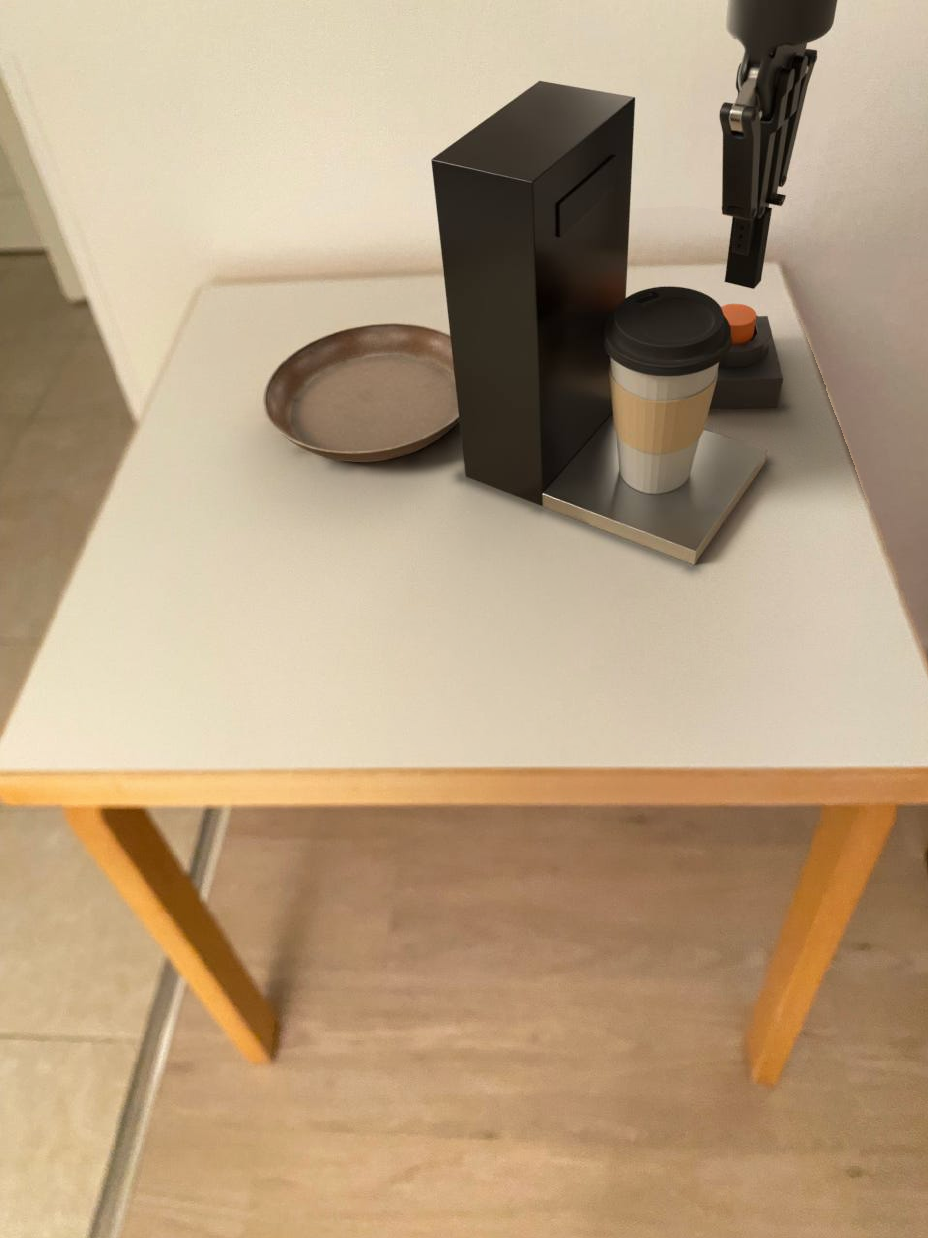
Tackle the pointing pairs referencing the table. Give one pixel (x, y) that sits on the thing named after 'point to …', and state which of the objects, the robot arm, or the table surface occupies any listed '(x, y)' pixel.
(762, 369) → the control block
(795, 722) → the table surface
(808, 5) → the robot arm
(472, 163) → the coffee maker
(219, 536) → the table surface
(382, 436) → the plant saucer
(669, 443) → the coffee cup
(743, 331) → the button
